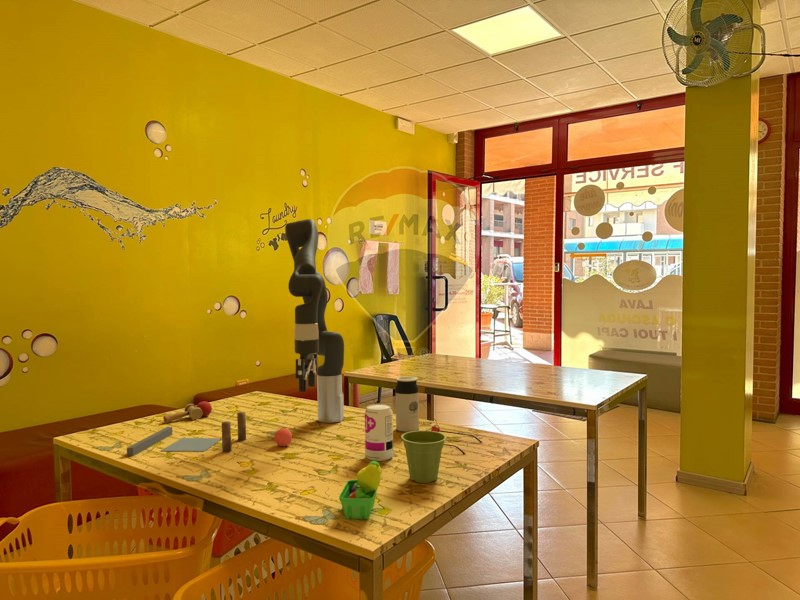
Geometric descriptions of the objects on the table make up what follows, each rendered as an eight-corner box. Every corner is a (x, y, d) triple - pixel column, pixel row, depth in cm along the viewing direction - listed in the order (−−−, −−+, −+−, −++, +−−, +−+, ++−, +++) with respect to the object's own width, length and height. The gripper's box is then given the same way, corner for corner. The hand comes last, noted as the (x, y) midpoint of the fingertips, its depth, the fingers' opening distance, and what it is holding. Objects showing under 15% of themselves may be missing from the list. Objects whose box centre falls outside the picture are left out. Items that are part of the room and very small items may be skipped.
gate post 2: (247, 438, 186) (246, 411, 186) (244, 440, 183) (243, 413, 183) (239, 438, 186) (239, 411, 186) (236, 440, 184) (236, 413, 183)
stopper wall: (172, 434, 193) (172, 427, 193) (133, 456, 169) (133, 447, 169) (166, 434, 193) (166, 426, 193) (126, 455, 169) (126, 447, 169)
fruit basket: (348, 500, 132) (347, 453, 132) (385, 501, 132) (384, 454, 131) (338, 521, 121) (337, 470, 121) (378, 522, 120) (377, 470, 120)
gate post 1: (232, 450, 173) (231, 421, 173) (229, 452, 171) (228, 423, 170) (224, 450, 174) (223, 421, 173) (221, 452, 171) (220, 423, 171)
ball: (294, 443, 180) (294, 426, 179) (289, 448, 174) (289, 430, 174) (277, 443, 180) (277, 426, 180) (272, 448, 175) (271, 430, 174)
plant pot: (413, 490, 138) (412, 445, 138) (394, 475, 149) (394, 433, 149) (455, 482, 143) (454, 439, 143) (434, 468, 154) (433, 428, 154)
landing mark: (222, 438, 186) (222, 438, 186) (204, 451, 172) (204, 451, 172) (182, 438, 187) (182, 437, 187) (160, 451, 173) (160, 450, 173)
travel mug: (392, 428, 197) (391, 377, 196) (413, 425, 200) (412, 375, 199) (401, 433, 189) (400, 380, 189) (422, 430, 193) (422, 379, 192)
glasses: (436, 437, 186) (436, 422, 185) (483, 444, 177) (483, 428, 177) (417, 449, 173) (416, 433, 173) (466, 456, 165) (466, 440, 165)
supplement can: (372, 463, 159) (371, 411, 158) (361, 455, 166) (360, 405, 166) (398, 459, 162) (397, 408, 162) (385, 451, 170) (384, 402, 169)
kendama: (170, 429, 205) (216, 414, 217) (166, 412, 205) (213, 398, 217) (163, 428, 211) (209, 414, 223) (159, 412, 211) (205, 398, 223)
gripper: (302, 335, 183) (303, 384, 183) (286, 340, 169) (287, 393, 169) (324, 335, 181) (325, 385, 182) (310, 340, 167) (311, 393, 168)
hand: (307, 389), depth 176 cm, fingers open, 8 cm apart
